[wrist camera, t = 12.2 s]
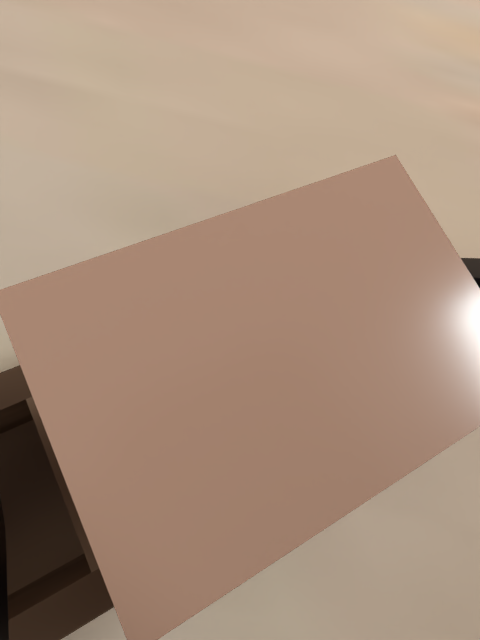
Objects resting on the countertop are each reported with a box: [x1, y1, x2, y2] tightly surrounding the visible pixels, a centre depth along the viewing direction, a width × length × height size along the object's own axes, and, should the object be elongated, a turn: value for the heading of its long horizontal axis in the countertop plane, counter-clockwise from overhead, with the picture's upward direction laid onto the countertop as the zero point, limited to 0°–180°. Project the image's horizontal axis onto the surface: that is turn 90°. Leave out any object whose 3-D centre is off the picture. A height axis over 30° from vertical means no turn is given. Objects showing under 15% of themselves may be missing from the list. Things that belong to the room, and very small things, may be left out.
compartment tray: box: [0, 365, 114, 640], centre depth 15 cm, size 9×24×5 cm, turn 116°
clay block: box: [0, 155, 480, 640], centre depth 10 cm, size 3×4×13 cm, turn 117°
